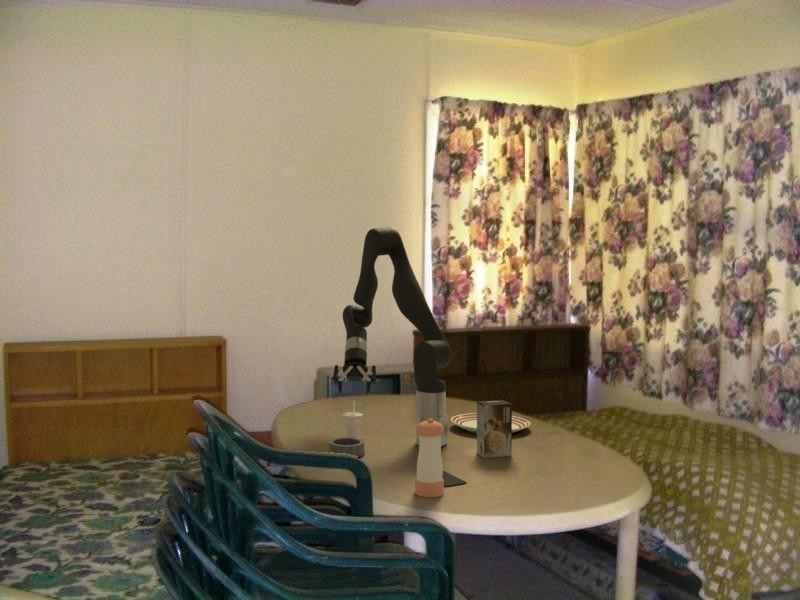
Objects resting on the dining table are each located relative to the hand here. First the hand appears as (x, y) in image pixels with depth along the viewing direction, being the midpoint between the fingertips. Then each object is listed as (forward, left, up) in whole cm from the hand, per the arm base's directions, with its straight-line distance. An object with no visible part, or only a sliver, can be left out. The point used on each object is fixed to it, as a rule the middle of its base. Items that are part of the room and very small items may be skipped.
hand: (354, 393), depth 254 cm
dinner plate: (-33, -36, -15) cm, 51 cm away
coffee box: (-47, -5, -15) cm, 50 cm away
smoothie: (-4, +7, -15) cm, 17 cm away
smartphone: (-44, +25, -15) cm, 53 cm away
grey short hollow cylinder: (-9, +18, -15) cm, 25 cm away
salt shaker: (-47, +38, -15) cm, 63 cm away
